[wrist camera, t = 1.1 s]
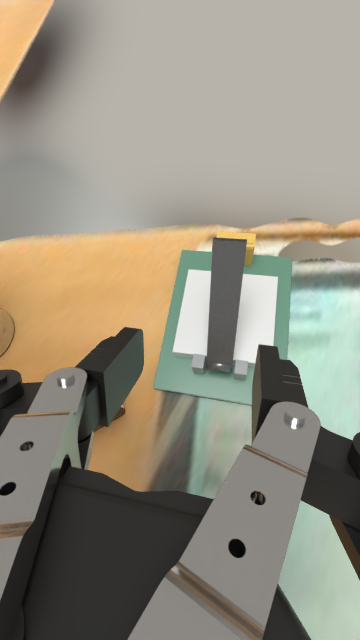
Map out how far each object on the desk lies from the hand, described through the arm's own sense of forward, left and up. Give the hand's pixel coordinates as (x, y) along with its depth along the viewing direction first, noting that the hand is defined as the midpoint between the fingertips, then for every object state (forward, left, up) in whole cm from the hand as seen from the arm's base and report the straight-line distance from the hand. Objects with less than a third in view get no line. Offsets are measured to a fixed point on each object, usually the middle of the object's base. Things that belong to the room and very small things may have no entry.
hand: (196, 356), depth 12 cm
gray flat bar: (-2, +10, -17) cm, 20 cm away
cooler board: (-2, +12, -26) cm, 29 cm away
